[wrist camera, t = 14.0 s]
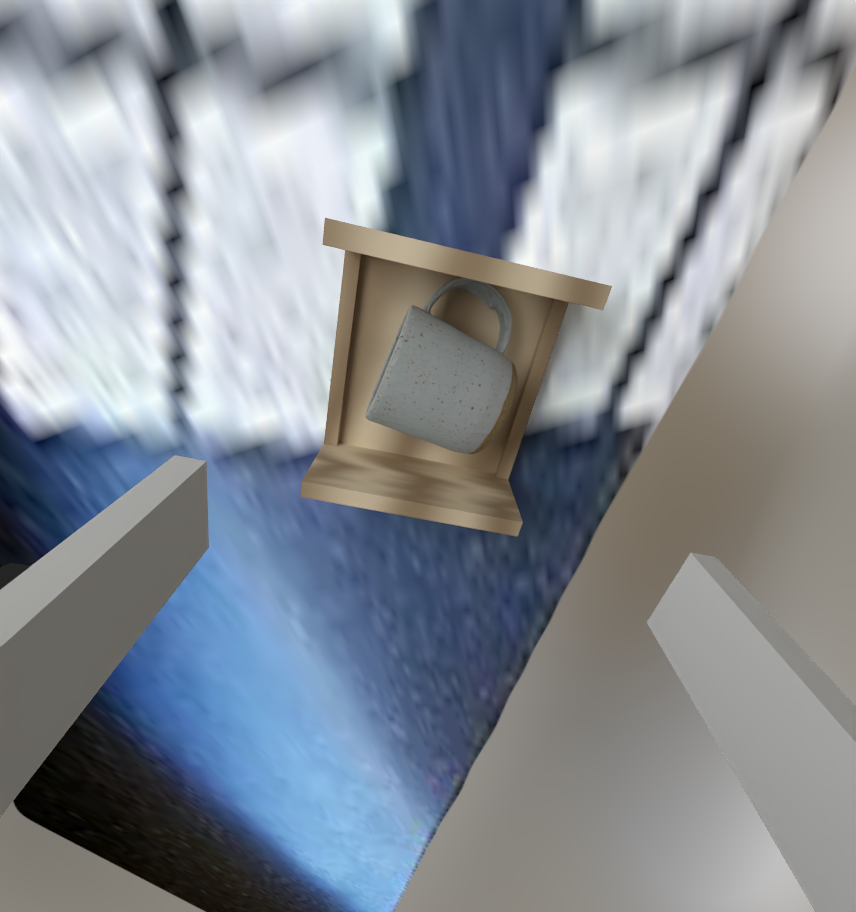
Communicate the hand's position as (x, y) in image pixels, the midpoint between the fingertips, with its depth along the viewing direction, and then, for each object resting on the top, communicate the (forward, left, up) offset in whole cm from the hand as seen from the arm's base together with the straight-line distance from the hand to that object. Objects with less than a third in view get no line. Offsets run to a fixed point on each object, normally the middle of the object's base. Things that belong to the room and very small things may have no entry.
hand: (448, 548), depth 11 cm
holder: (0, -1, -22) cm, 22 cm away
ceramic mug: (0, +1, -21) cm, 21 cm away
